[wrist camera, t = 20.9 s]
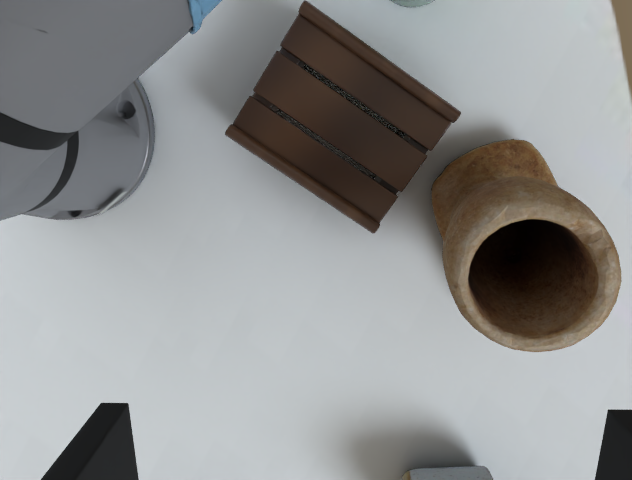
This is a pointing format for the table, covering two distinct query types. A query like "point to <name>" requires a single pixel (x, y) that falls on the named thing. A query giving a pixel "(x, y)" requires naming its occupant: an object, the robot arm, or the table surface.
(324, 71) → the rack
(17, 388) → the table surface
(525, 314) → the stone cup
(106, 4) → the robot arm
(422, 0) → the canister
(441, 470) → the ceramic mug
